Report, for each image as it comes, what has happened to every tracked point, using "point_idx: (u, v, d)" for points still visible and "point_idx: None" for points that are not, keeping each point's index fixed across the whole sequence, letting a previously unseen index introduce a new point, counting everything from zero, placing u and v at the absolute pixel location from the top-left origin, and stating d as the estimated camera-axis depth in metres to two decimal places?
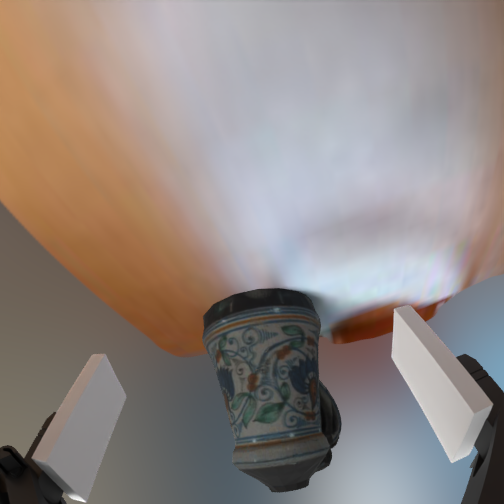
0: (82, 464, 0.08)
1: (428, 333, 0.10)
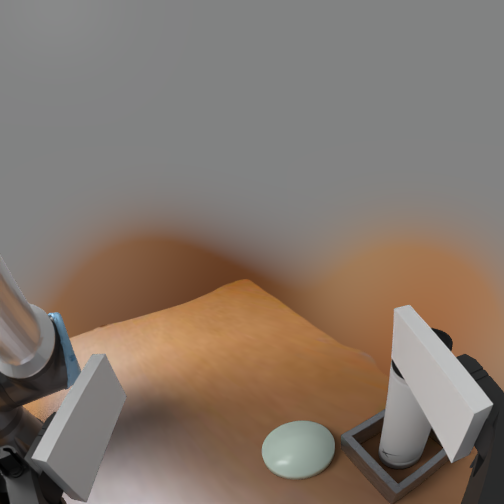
0: (82, 464, 0.08)
1: (428, 333, 0.10)
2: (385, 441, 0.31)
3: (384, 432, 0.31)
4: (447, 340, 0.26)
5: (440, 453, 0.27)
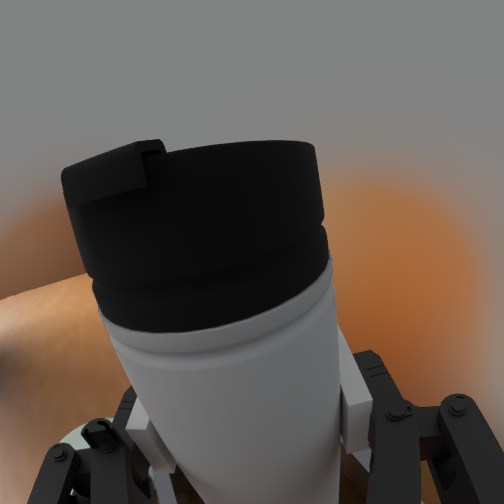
0: None
1: None
2: None
3: None
4: None
5: None
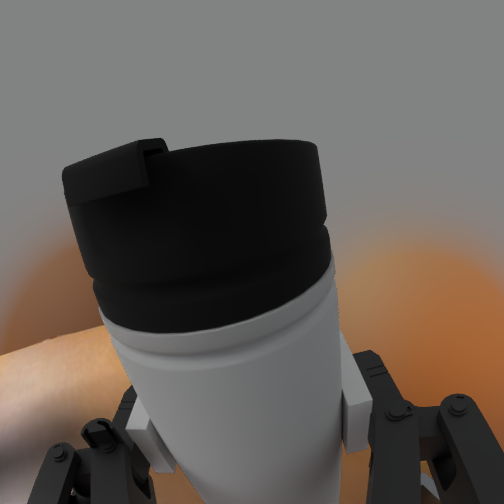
0: None
1: None
2: None
3: None
4: None
5: None
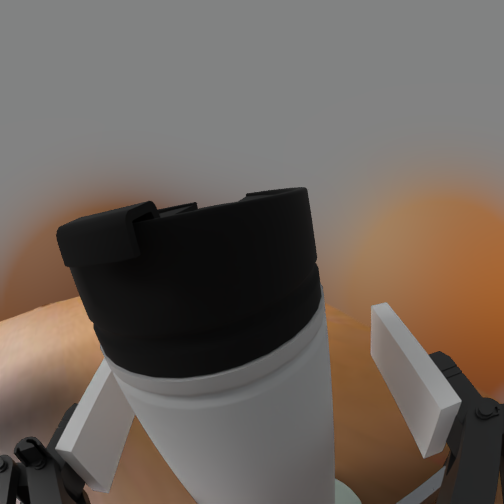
0: (105, 454, 0.09)
1: (402, 330, 0.11)
2: None
3: None
4: None
5: None
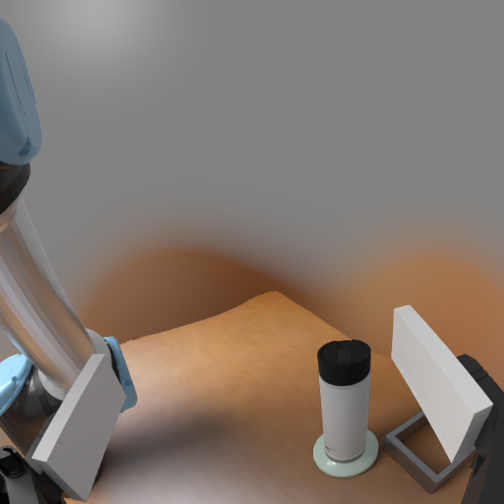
0: (82, 464, 0.08)
1: (428, 333, 0.10)
2: (325, 436, 0.38)
3: (323, 428, 0.38)
4: (367, 351, 0.33)
5: None
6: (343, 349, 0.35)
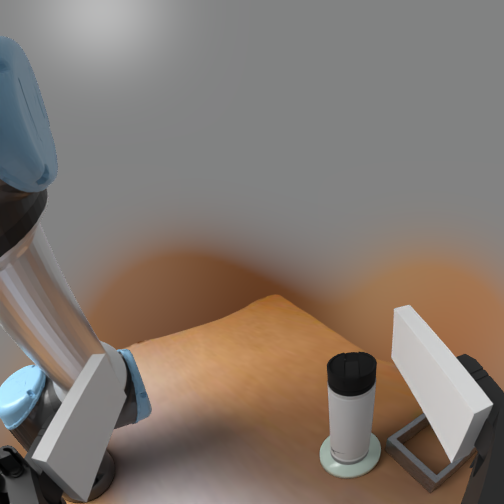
0: (82, 464, 0.08)
1: (428, 333, 0.10)
2: (331, 440, 0.40)
3: (330, 433, 0.40)
4: (373, 363, 0.35)
5: None
6: (350, 361, 0.37)
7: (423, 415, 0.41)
